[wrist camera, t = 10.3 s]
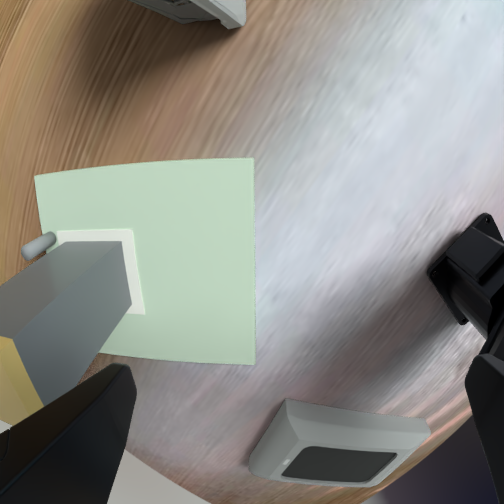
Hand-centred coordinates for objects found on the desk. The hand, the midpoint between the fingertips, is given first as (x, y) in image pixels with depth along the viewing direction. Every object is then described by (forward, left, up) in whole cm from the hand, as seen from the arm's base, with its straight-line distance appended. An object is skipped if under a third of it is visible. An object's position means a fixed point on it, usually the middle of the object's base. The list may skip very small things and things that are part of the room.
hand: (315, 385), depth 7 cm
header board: (+5, +9, -13) cm, 16 cm away
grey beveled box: (-19, +10, -14) cm, 26 cm away
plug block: (+7, +11, -12) cm, 18 cm away
